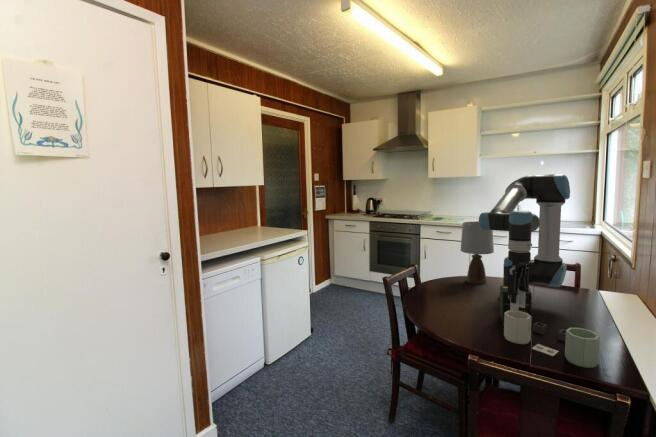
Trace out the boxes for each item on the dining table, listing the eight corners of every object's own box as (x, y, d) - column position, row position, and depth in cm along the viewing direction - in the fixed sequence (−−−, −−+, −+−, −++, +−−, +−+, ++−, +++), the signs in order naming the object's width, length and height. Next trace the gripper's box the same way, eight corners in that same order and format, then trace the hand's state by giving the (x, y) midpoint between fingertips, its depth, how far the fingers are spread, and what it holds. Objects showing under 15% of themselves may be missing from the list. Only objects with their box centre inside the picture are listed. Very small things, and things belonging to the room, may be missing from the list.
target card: (531, 348, 122) (531, 347, 122) (537, 344, 125) (537, 343, 125) (553, 356, 116) (553, 355, 116) (558, 351, 119) (558, 350, 119)
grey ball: (508, 303, 128) (508, 291, 128) (514, 300, 131) (514, 288, 131) (521, 307, 124) (522, 294, 124) (527, 304, 127) (528, 291, 127)
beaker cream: (500, 338, 131) (501, 314, 130) (510, 331, 136) (511, 308, 135) (523, 346, 124) (524, 321, 123) (533, 339, 129) (534, 315, 128)
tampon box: (525, 317, 149) (526, 286, 147) (531, 326, 140) (532, 293, 138) (499, 315, 152) (499, 285, 151) (502, 323, 144) (503, 291, 142)
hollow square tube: (557, 339, 128) (558, 331, 128) (561, 336, 130) (561, 329, 130) (569, 342, 125) (569, 335, 125) (572, 339, 127) (573, 332, 127)
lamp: (500, 284, 197) (501, 223, 193) (475, 288, 191) (476, 226, 187) (477, 276, 214) (478, 220, 210) (453, 279, 209) (454, 222, 205)
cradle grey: (532, 331, 136) (533, 324, 135) (536, 328, 138) (537, 321, 137) (543, 334, 132) (543, 327, 132) (546, 331, 135) (547, 324, 134)
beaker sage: (561, 359, 114) (562, 332, 113) (570, 351, 119) (572, 325, 118) (592, 370, 107) (593, 341, 106) (600, 361, 112) (602, 333, 111)
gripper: (518, 255, 118) (517, 317, 120) (540, 248, 128) (538, 306, 130) (497, 252, 124) (496, 311, 126) (519, 246, 134) (518, 301, 136)
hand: (517, 308), depth 128 cm, fingers closed on grey ball, 5 cm apart
